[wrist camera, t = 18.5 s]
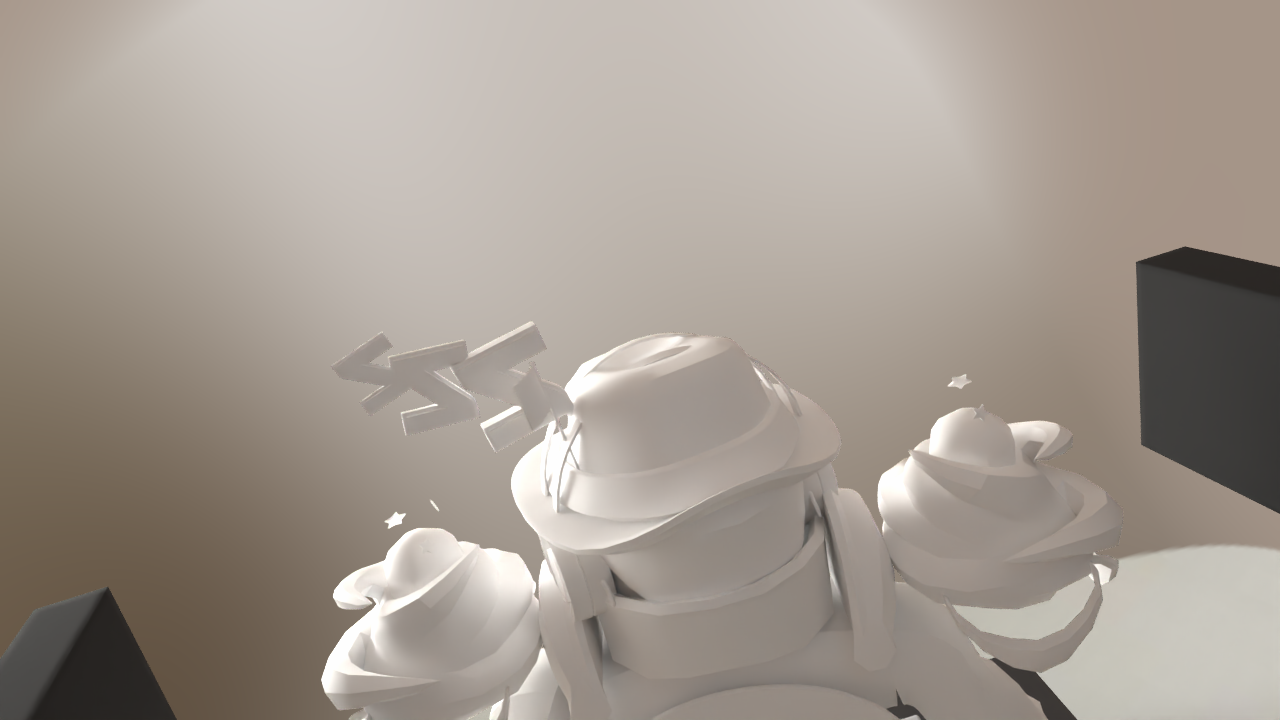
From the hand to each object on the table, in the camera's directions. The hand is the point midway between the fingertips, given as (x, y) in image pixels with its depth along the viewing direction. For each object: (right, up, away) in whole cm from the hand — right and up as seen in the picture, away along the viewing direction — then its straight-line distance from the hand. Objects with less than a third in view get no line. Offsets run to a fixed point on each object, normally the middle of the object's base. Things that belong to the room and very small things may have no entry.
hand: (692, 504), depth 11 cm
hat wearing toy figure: (+2, -8, +2) cm, 9 cm away
